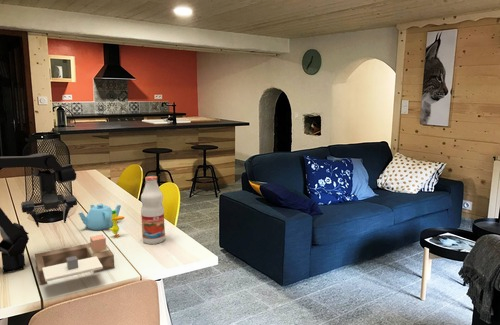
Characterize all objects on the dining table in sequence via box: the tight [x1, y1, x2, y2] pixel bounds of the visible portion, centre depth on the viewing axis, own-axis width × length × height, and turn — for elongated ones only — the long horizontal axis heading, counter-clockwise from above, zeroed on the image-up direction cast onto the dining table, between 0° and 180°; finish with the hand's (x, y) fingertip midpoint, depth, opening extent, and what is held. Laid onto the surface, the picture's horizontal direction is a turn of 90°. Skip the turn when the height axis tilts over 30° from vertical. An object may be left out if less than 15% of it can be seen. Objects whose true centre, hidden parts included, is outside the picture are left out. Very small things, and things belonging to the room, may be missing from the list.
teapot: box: [78, 203, 122, 231], centre depth 184 cm, size 15×15×11 cm
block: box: [89, 234, 107, 252], centre depth 145 cm, size 4×4×4 cm
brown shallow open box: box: [34, 242, 116, 286], centre depth 142 cm, size 24×16×5 cm, turn 123°
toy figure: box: [109, 209, 125, 238], centre depth 171 cm, size 7×4×12 cm, turn 118°
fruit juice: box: [140, 175, 166, 245], centre depth 166 cm, size 9×9×28 cm
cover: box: [42, 256, 103, 283], centre depth 129 cm, size 17×10×4 cm, turn 123°
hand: (51, 224), depth 151 cm, fingers open, 9 cm apart
